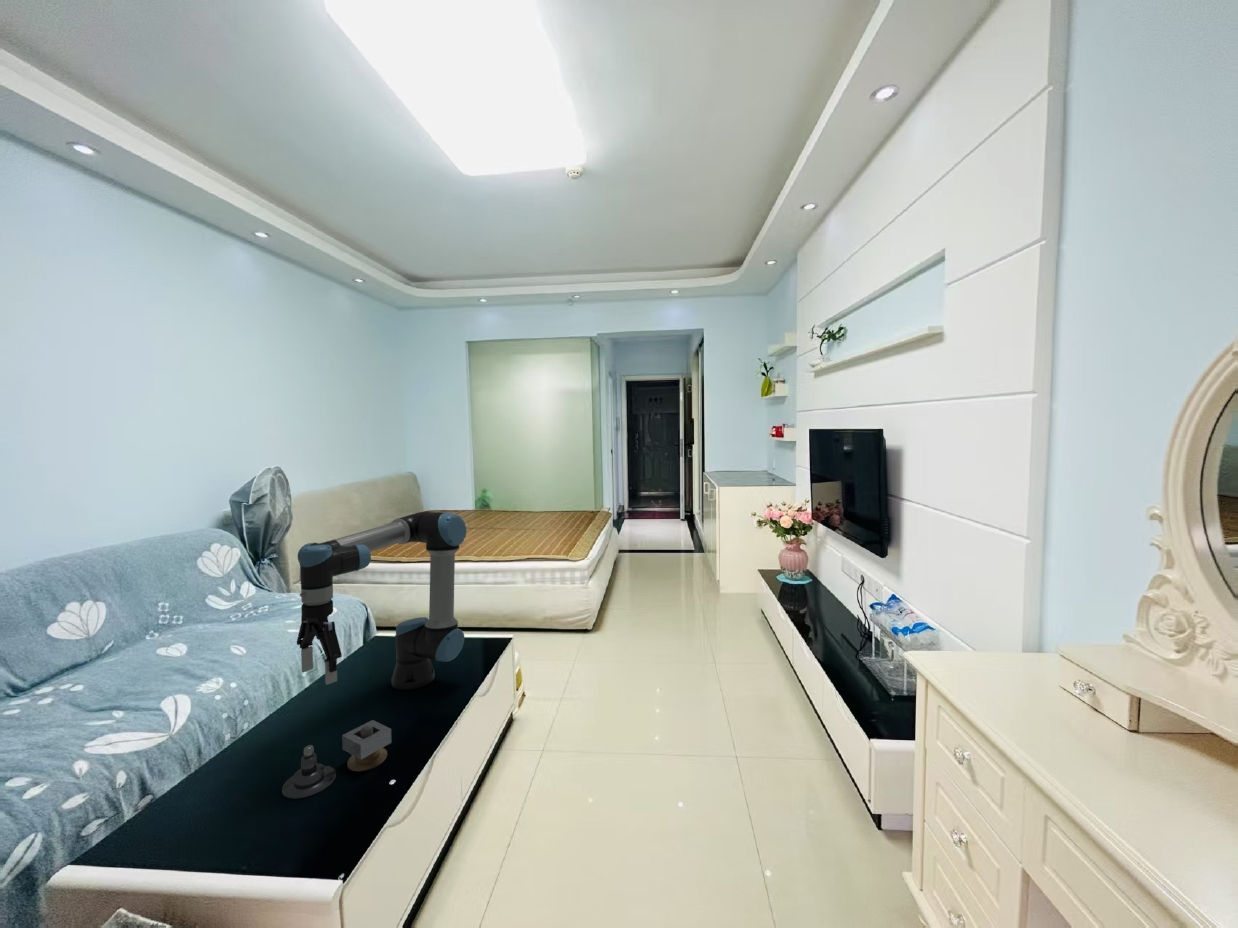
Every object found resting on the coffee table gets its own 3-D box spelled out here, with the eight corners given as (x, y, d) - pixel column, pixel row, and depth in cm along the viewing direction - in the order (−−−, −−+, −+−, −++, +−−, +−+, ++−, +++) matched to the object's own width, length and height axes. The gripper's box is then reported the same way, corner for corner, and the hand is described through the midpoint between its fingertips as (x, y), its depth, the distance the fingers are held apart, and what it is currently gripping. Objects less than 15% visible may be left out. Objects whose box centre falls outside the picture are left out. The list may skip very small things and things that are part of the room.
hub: (321, 762, 137) (320, 729, 136) (345, 777, 130) (344, 742, 130) (273, 788, 126) (272, 752, 126) (296, 805, 120) (295, 767, 120)
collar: (373, 733, 144) (372, 719, 144) (391, 742, 139) (391, 728, 139) (342, 749, 136) (342, 735, 136) (360, 759, 131) (360, 745, 131)
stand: (373, 744, 145) (373, 715, 144) (394, 755, 139) (393, 725, 139) (339, 763, 136) (339, 732, 136) (360, 775, 131) (359, 743, 131)
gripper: (281, 597, 139) (283, 670, 140) (325, 613, 126) (327, 694, 126) (310, 591, 146) (311, 660, 146) (354, 605, 132) (356, 682, 132)
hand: (319, 676), depth 136 cm, fingers open, 13 cm apart
